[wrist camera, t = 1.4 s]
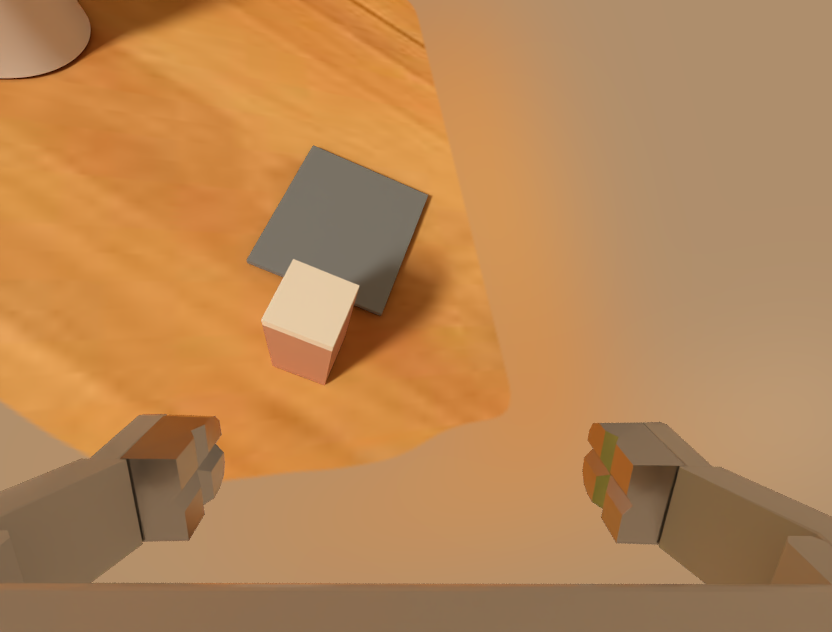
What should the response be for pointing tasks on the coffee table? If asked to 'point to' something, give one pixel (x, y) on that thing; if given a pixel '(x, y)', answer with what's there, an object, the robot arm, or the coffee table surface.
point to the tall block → (308, 321)
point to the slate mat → (342, 226)
